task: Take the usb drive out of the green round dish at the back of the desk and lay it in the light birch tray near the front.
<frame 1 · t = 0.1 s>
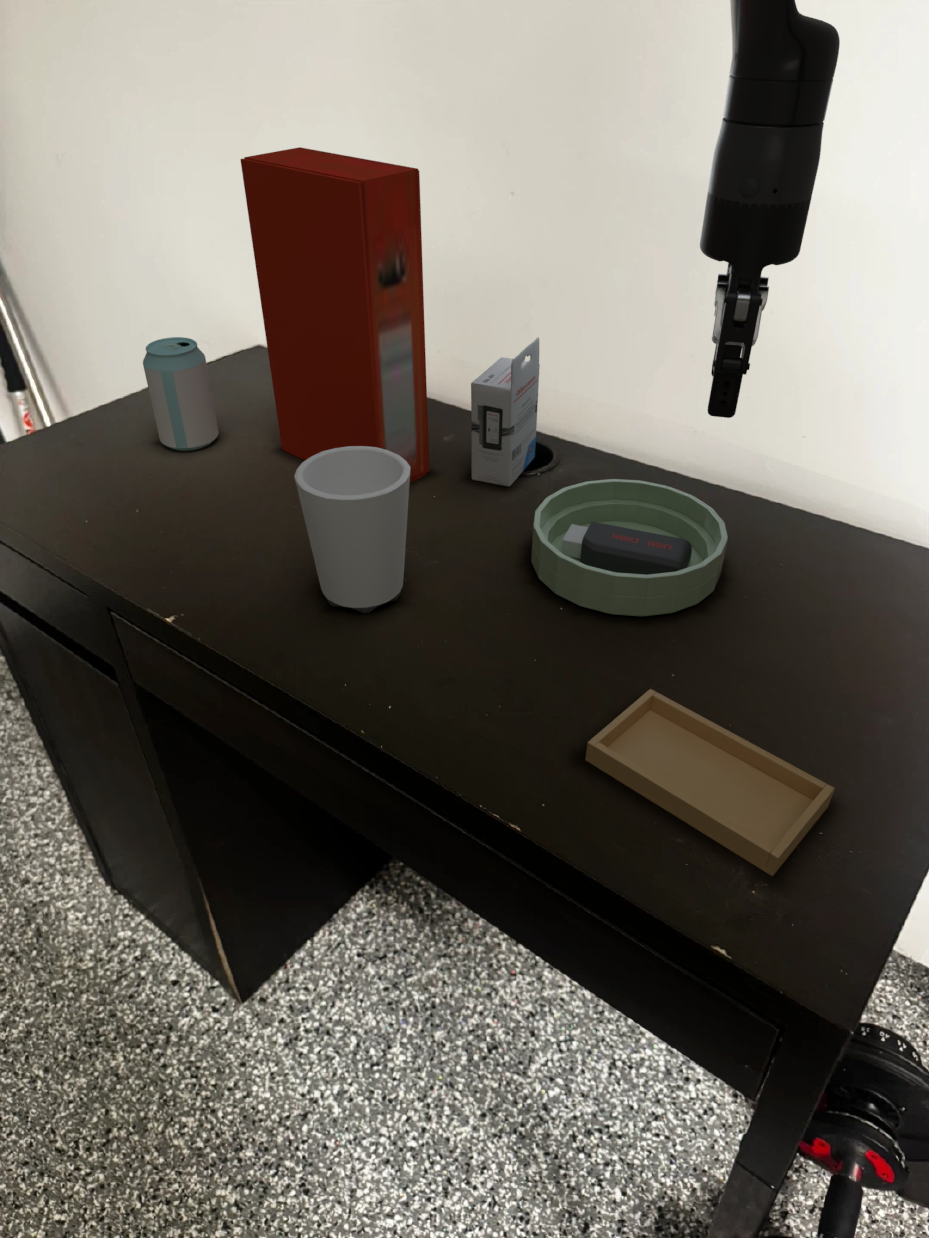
hand: (721, 395, 76), 18 cm above the table, tool pointing down, fingers open, 8 cm apart
usb drive: (624, 562, 87), resting on green round dish
file binder: (353, 463, 105), on the table
can: (190, 442, 110), on the table
tray: (703, 782, 64), on the table
green round dish: (624, 563, 87), on the table
ink box: (503, 470, 104), on the table
cup: (363, 594, 83), on the table
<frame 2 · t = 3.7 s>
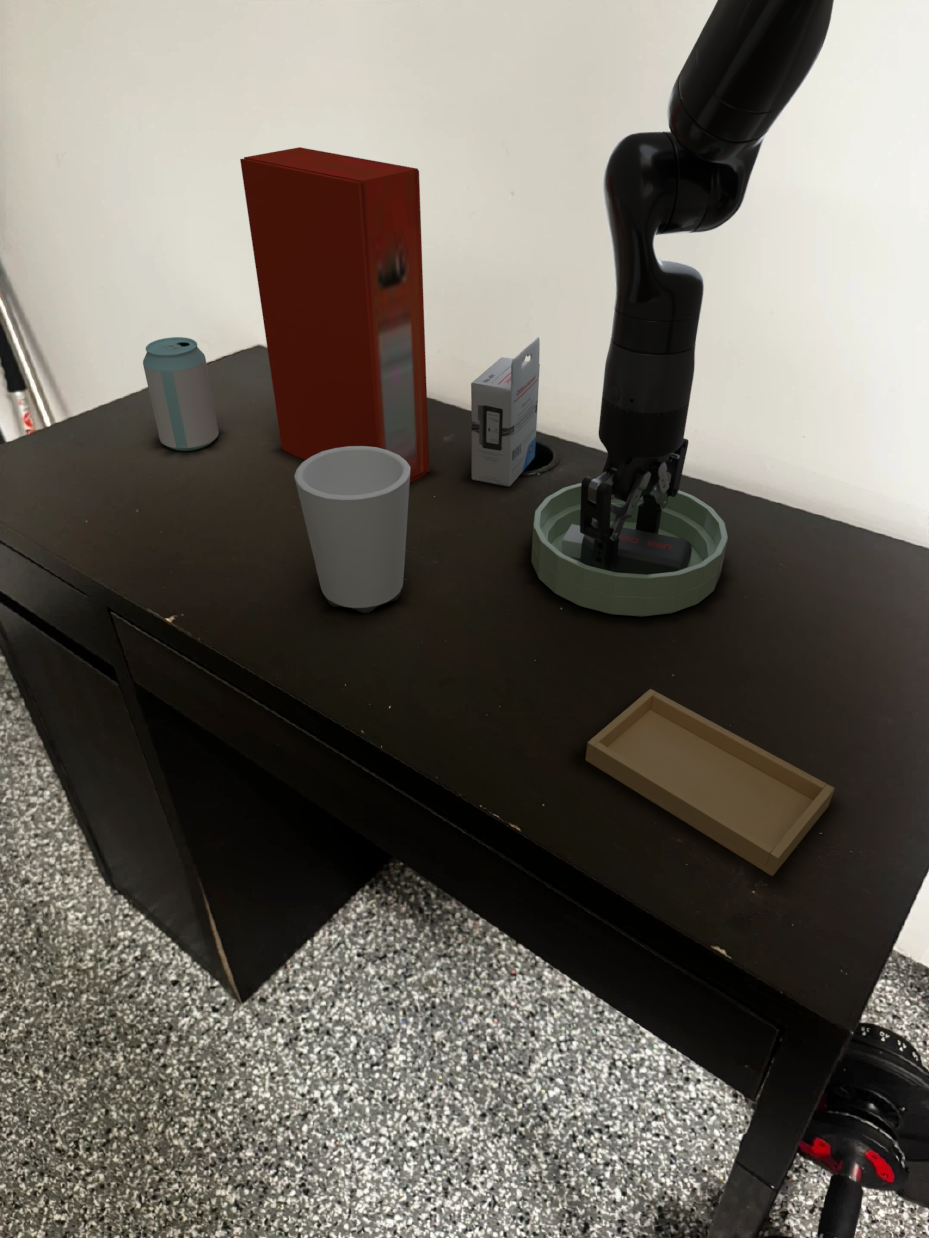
hand: (625, 553, 87), 1 cm above the table, tool pointing down, fingers closed on usb drive, 6 cm apart
usb drive: (624, 562, 87), resting on green round dish, touching gripper
everything else where it was.
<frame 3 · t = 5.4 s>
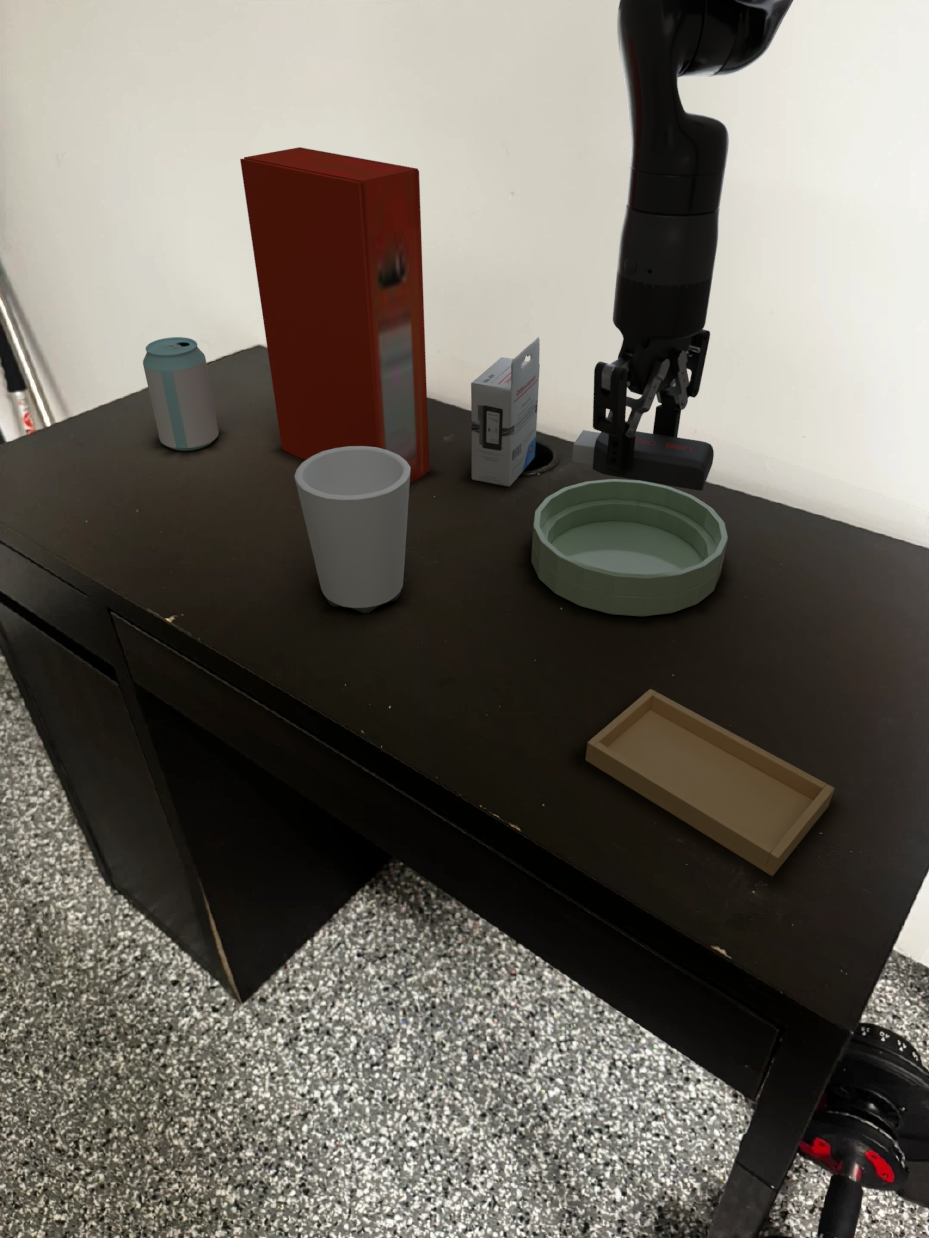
hand: (641, 458, 80), 12 cm above the table, tool pointing down, fingers closed on usb drive, 6 cm apart
usb drive: (640, 469, 81), point 11 cm above the table, touching gripper
everything else where it was.
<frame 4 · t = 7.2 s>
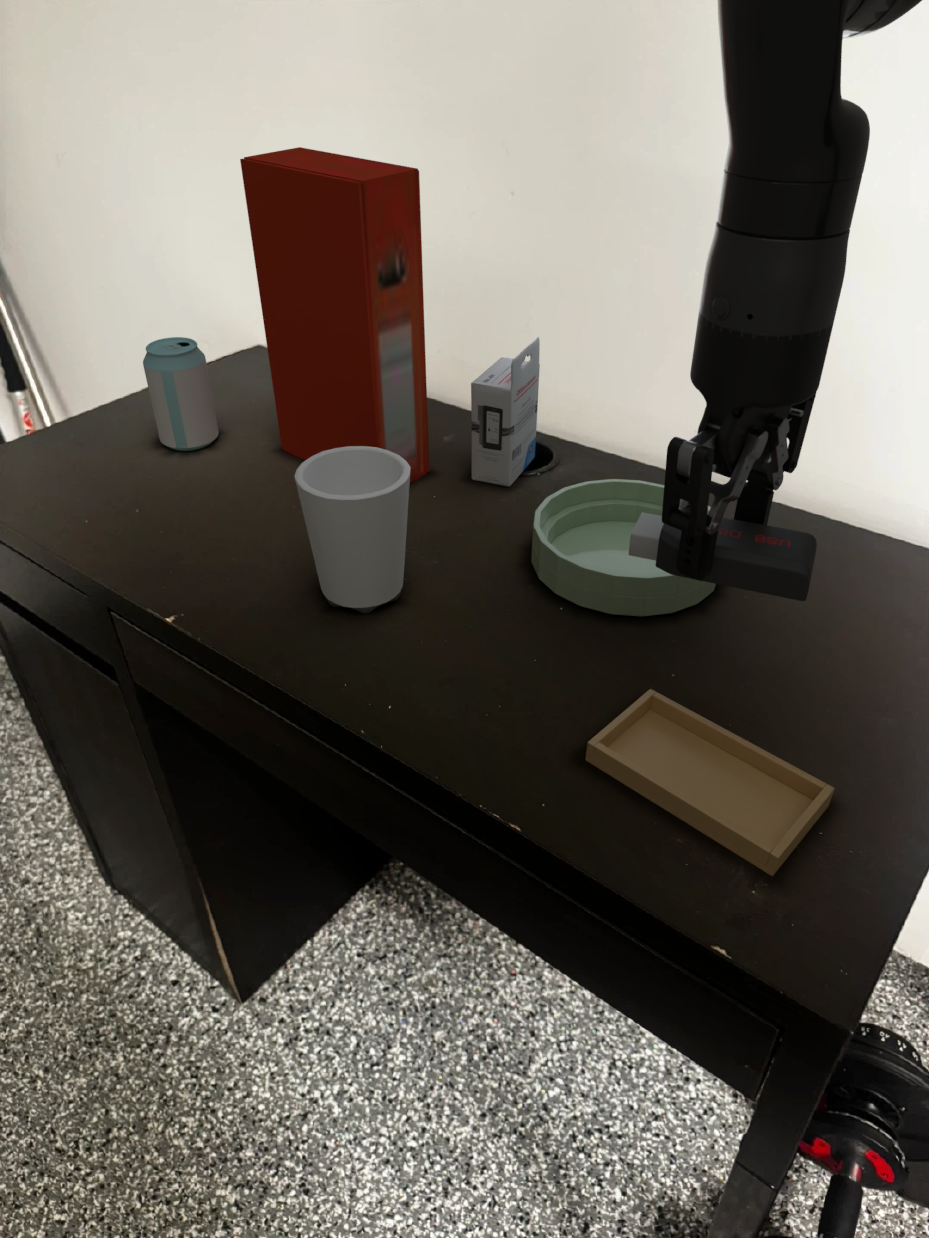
hand: (721, 553, 61), 15 cm above the table, tool pointing down, fingers closed on usb drive, 6 cm apart
usb drive: (718, 566, 61), point 14 cm above the table, touching gripper
everything else where it was.
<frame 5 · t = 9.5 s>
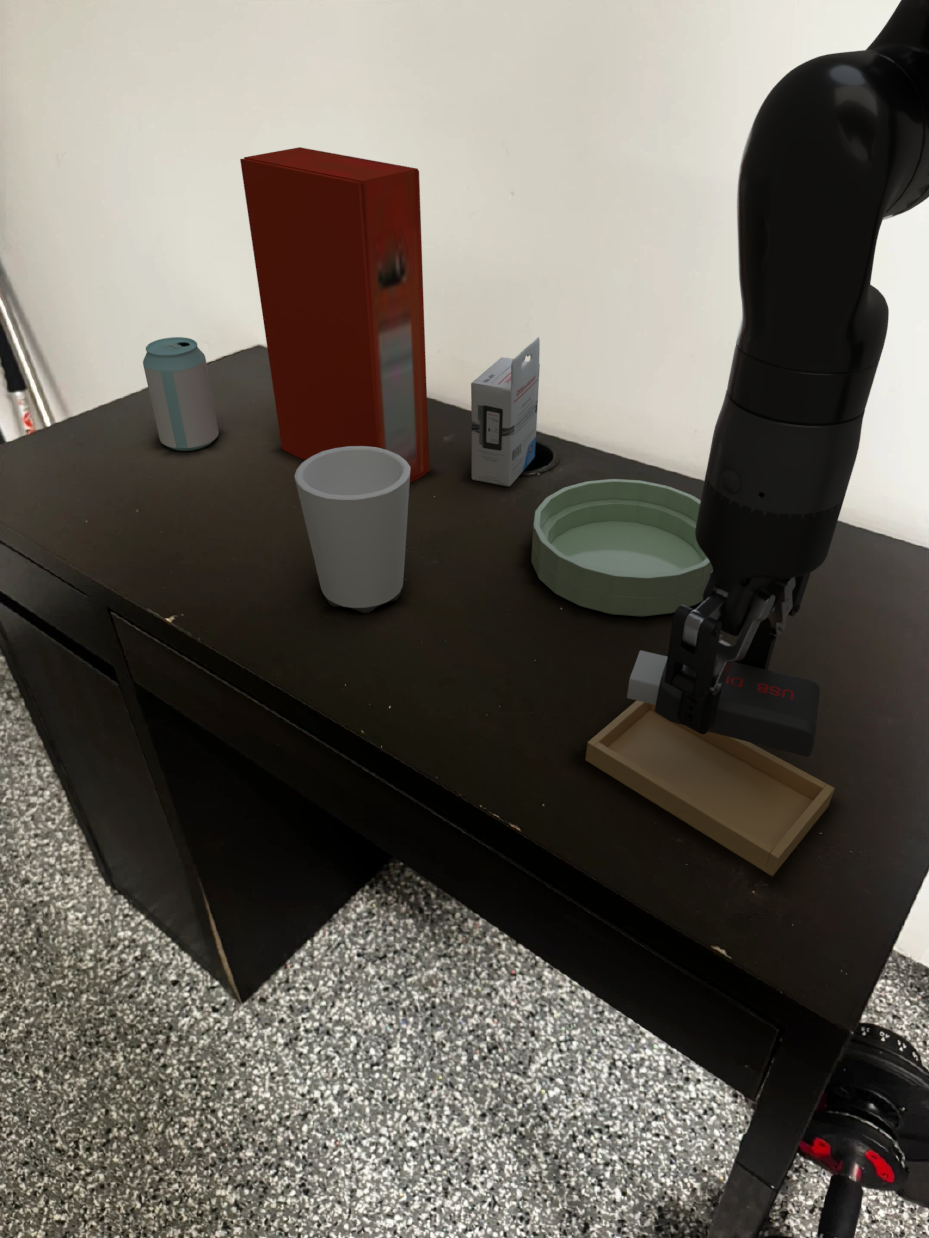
hand: (722, 698, 59), 8 cm above the table, tool pointing down, fingers closed on usb drive, 6 cm apart
usb drive: (718, 709, 60), point 7 cm above the table, touching gripper
everything else where it was.
when the fingers open (3 cm above the table, at t = 11.2 s): usb drive stays where it is, resting on tray.
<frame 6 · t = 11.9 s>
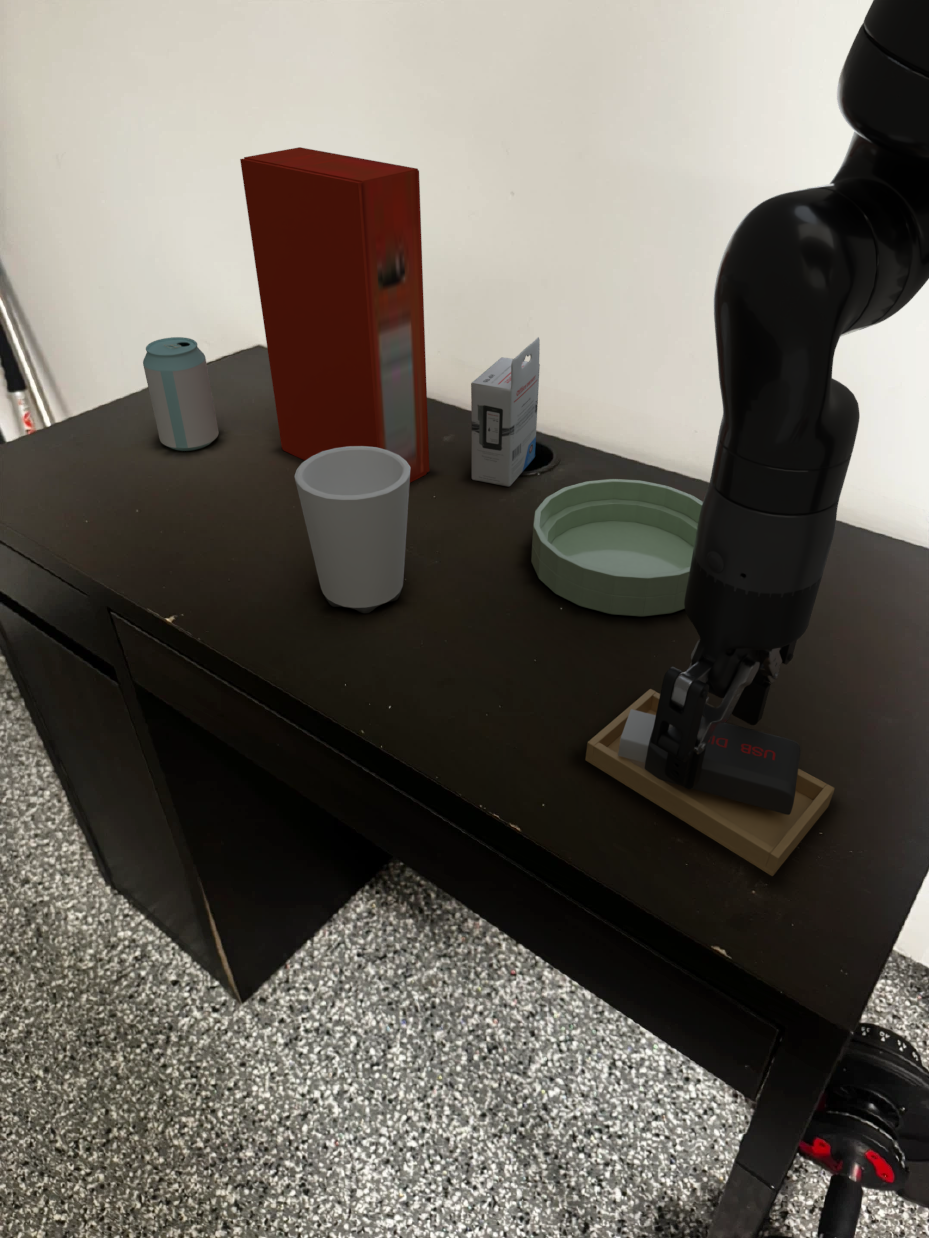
hand: (713, 747, 62), 3 cm above the table, tool pointing down, fingers open, 8 cm apart
usb drive: (705, 767, 63), point 2 cm above the table, touching tray
everything else where it was.
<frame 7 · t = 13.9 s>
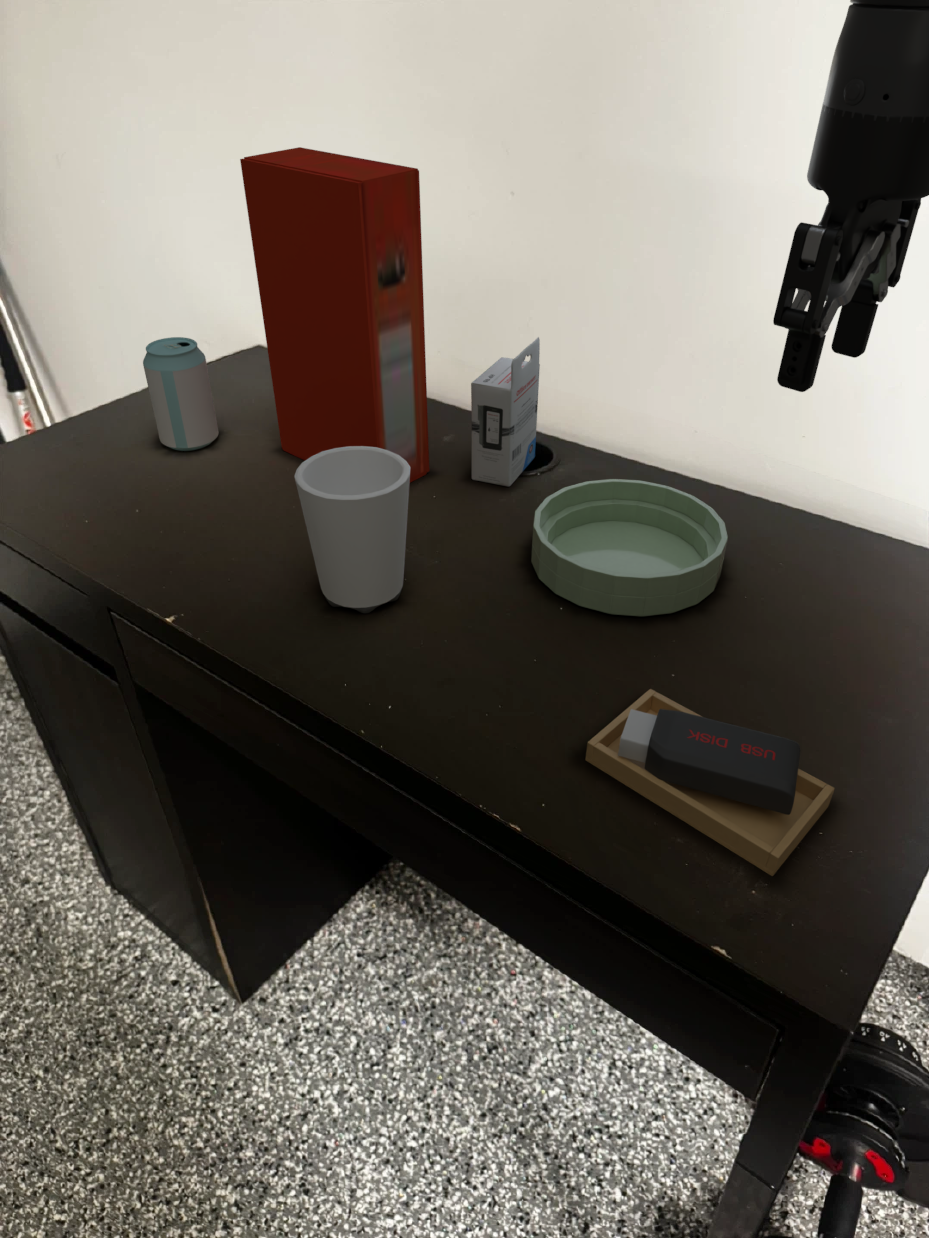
hand: (821, 370, 61), 25 cm above the table, tool pointing down, fingers open, 8 cm apart
nothing on the table moved.
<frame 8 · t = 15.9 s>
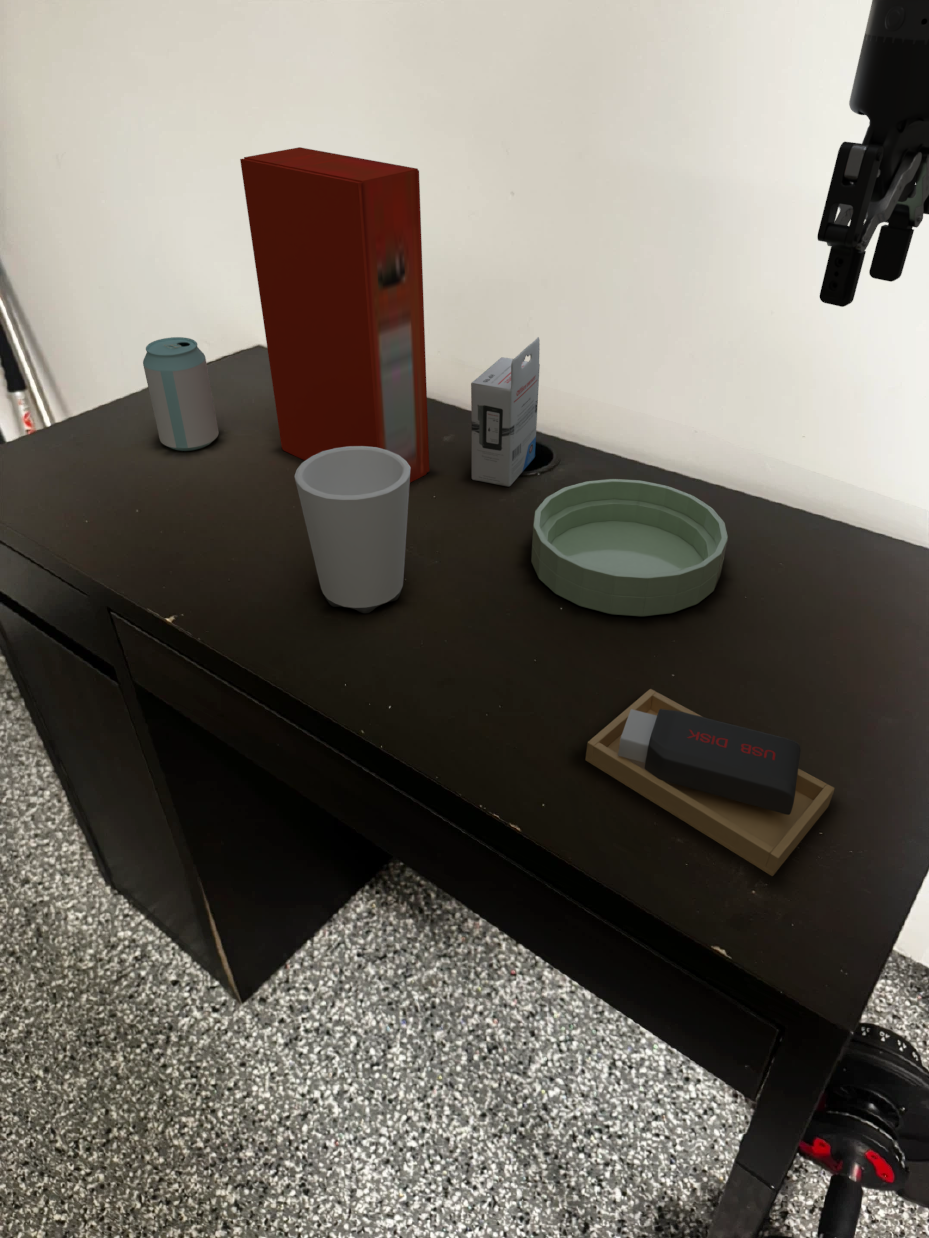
hand: (860, 290, 66), 28 cm above the table, tool pointing down, fingers open, 8 cm apart
nothing on the table moved.
at the end: usb drive inside the target area in the tray (0.2 cm from its centre), point 1.7 cm above the tray's base; usb drive touching tray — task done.
